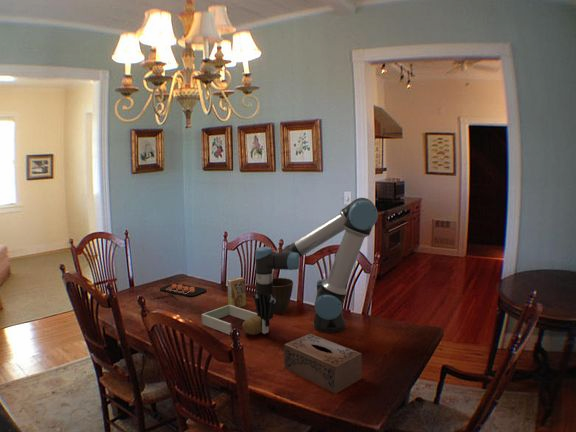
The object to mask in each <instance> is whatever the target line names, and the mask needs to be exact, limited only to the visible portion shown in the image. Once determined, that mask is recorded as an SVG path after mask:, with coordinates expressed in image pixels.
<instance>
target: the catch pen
mask: <svg viewBox="0 0 576 432" xmlns="http://www.w3.org/2000/svg"><path fill="white" fill-rule="evenodd" d="M256 315H257V312H254V311H251V310H247V309H244V308H242V307H235V306H232V305H228V304H227V305H224V306H222V307H219V308H215V309H212V310H210V311H207V312H204V313H201V317H200V318H201V322H200V323H201V325H203V326H205V327H208V328H210V329H213V330H216V331H219V332H222V333H223V334H226V335H229V336H230V332H231V330H232V331H233V328H232V323H231V322H228V321H224V320H222V318H225V317H227V316H232V317H234V318H237V319H241V320H244V321H245V320H247V319H249V318H251V317H253V316H256Z"/></svg>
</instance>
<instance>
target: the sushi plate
mask: <svg viewBox="0 0 576 432" xmlns="http://www.w3.org/2000/svg"><path fill="white" fill-rule="evenodd" d="M177 285H178V286H177ZM170 286H172V290H176V288H177V289H178V291H182V289H183V290H184V293H187V292H188V291H190V292H189V293H187V294H183V293H178V292H174V291H169V290H166V288H168V287H170ZM183 286H184V288H183ZM159 290H160V291H164V292H167V293H168V294H169V295H164V296H158V297H153V299H152V300H157V299H156V298H158V299H161V298H162V299H163V298H167V297H172V298H174V299H175V300H176V299H178V298H177V297H175V296H176V295H182V296H187V297H188V296H189V297H194V296H198V295H200V294H202V293H205V292H206V291H208V289H207V288H205V287H204V288H203V287H198V286H193V285H188V284H184V283H177V282H174V283H170V284H167V285H164V286H162V287H160V288H159ZM171 293H174V294H171Z"/></svg>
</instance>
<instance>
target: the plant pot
mask: <svg viewBox="0 0 576 432" xmlns="http://www.w3.org/2000/svg"><path fill="white" fill-rule="evenodd" d="M272 282H273V290H272V295H273V298H274V299H277V302H276V304H275V309H274V314H277V315H280V314H284V313H286V312H287V310H288V308H289V305H290V301H291V297H292V294H293V288H294V281H293V280H292V279H290V278H286V277H285V278H284V277H275V278H273V281H272Z"/></svg>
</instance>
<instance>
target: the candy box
mask: <svg viewBox="0 0 576 432" xmlns="http://www.w3.org/2000/svg"><path fill="white" fill-rule="evenodd" d="M246 301H247V300H246V278H243V277H237V278H232V279H228V280H227V302H228V304H227V305H232V306H235V307H238V308H242V307H245V306H246Z"/></svg>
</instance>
